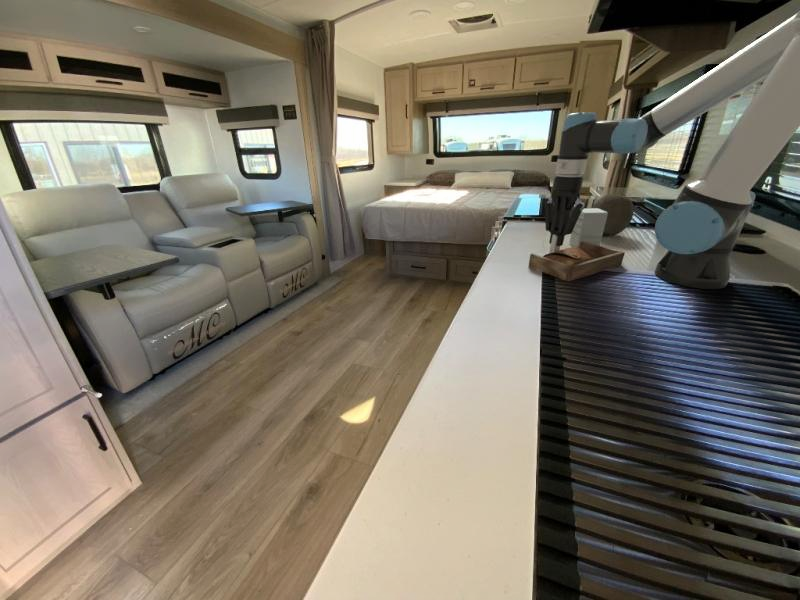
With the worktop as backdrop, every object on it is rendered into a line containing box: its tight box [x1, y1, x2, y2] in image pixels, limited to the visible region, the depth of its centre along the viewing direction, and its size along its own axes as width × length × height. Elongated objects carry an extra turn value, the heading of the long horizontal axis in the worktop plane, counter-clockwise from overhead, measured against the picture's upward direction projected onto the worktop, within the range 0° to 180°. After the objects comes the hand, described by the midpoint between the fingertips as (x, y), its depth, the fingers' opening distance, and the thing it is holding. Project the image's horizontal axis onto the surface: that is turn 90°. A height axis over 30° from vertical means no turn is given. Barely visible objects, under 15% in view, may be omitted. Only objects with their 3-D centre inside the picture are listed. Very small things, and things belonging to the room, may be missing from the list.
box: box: [528, 241, 626, 283], centre depth 98 cm, size 14×24×4 cm, turn 119°
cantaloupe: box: [591, 193, 635, 237], centre depth 124 cm, size 14×14×15 cm
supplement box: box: [569, 207, 608, 248], centre depth 112 cm, size 7×7×13 cm
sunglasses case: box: [542, 245, 595, 266], centre depth 101 cm, size 18×7×7 cm, turn 125°
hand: (553, 254), depth 104 cm, fingers closed
